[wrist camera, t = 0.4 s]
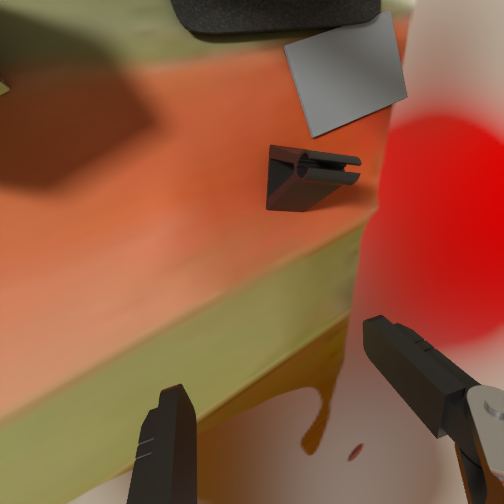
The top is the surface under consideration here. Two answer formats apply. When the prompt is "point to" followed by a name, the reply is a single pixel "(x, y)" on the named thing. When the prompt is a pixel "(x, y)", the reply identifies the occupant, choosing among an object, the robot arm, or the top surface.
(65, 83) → the top surface
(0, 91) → the protein box
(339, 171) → the phone stand
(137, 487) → the robot arm
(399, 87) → the mat
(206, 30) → the sushi plate
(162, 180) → the top surface
